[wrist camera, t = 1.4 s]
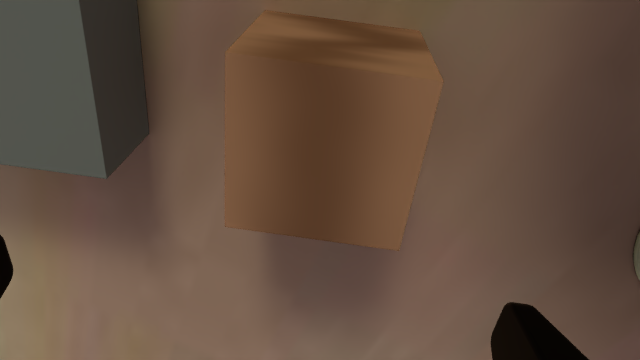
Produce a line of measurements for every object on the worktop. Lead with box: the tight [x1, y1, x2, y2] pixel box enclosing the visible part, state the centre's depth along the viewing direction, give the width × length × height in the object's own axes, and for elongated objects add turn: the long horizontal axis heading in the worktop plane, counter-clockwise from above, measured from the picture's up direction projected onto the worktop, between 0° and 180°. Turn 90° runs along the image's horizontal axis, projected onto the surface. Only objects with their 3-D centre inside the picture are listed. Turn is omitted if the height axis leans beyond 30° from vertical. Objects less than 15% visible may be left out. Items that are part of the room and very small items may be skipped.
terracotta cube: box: [225, 10, 444, 251], centre depth 16 cm, size 6×6×6 cm
